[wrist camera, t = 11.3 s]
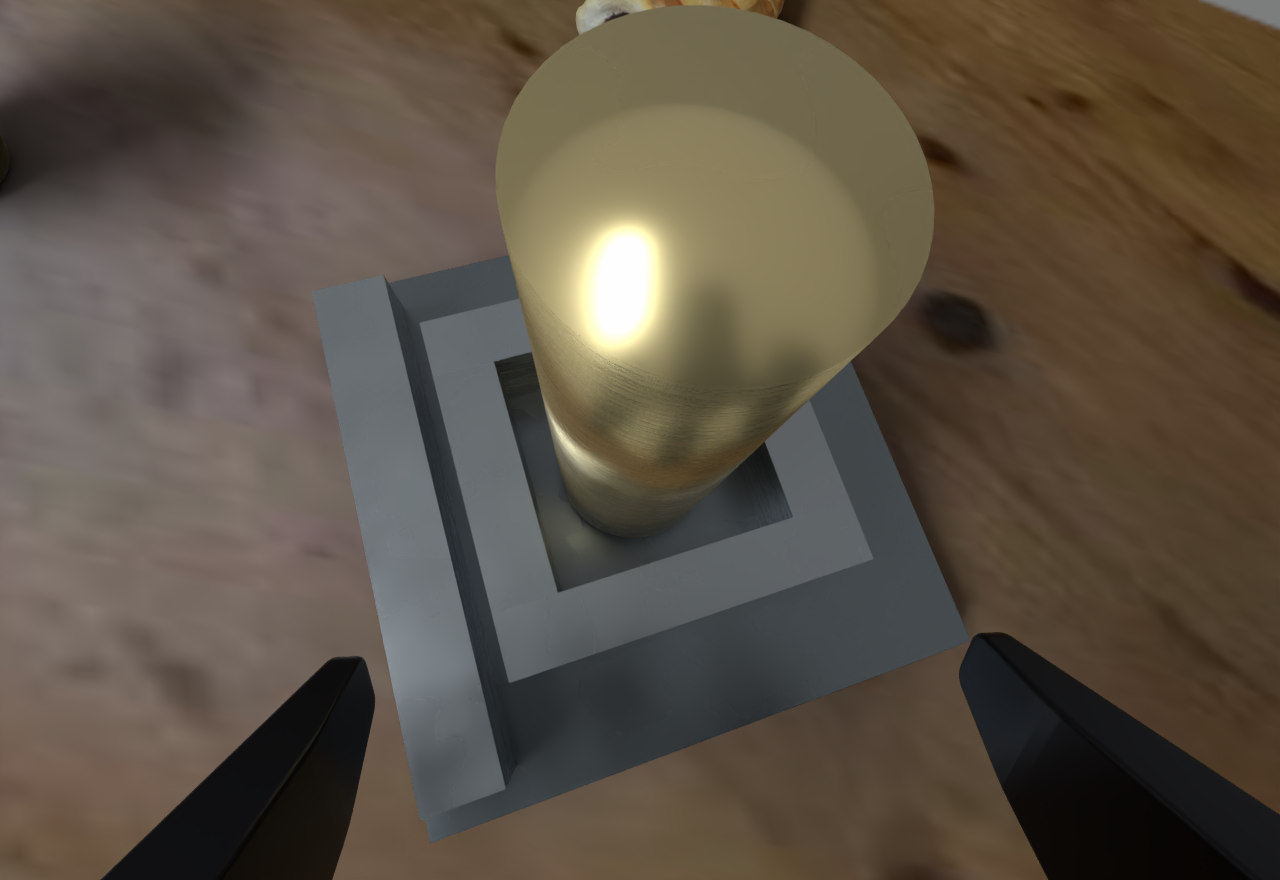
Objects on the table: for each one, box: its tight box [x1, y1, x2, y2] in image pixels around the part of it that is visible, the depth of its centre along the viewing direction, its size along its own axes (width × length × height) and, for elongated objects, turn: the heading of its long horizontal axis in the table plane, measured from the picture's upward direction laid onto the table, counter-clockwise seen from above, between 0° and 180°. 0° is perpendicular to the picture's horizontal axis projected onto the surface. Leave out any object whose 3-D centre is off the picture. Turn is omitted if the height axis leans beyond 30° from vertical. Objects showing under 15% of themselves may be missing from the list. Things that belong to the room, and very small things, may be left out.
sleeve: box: [495, 5, 934, 538], centre depth 12 cm, size 4×4×13 cm
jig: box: [312, 256, 971, 843], centre depth 18 cm, size 16×16×4 cm
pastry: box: [576, 0, 785, 35], centre depth 24 cm, size 9×7×4 cm
